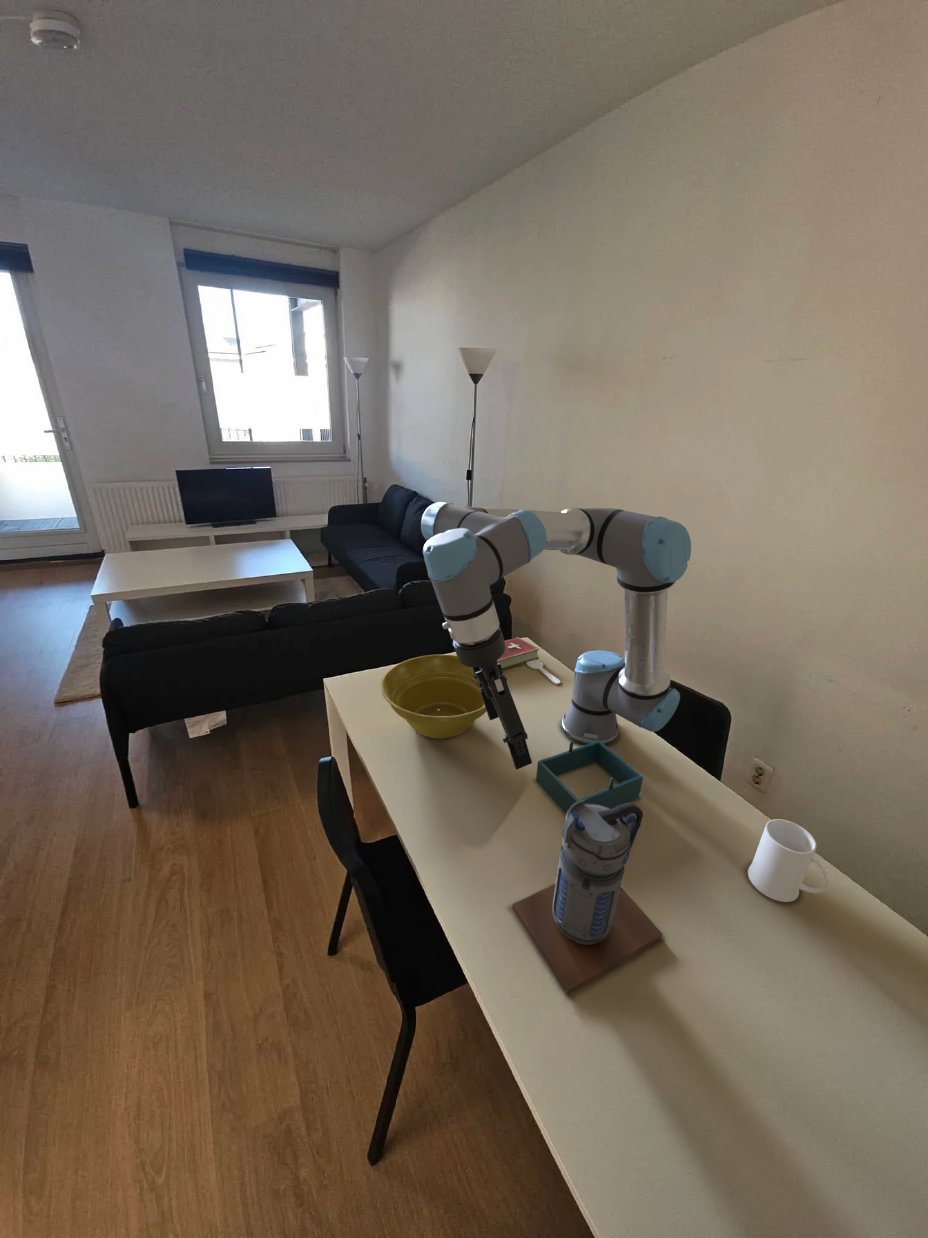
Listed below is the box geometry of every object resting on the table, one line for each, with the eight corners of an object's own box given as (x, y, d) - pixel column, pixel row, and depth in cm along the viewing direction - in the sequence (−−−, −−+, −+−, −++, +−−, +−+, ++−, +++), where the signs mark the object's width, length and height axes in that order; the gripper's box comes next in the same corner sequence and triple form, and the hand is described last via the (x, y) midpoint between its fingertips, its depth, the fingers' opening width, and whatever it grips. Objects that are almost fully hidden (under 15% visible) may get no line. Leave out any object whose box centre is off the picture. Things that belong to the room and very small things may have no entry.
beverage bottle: (635, 936, 85) (663, 824, 75) (564, 958, 81) (583, 842, 71) (603, 885, 94) (624, 778, 84) (538, 902, 90) (552, 793, 80)
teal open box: (596, 759, 128) (600, 730, 125) (639, 797, 116) (645, 767, 113) (535, 781, 120) (538, 751, 117) (575, 824, 108) (579, 792, 105)
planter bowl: (458, 779, 120) (459, 732, 115) (357, 733, 136) (354, 690, 130) (518, 715, 145) (521, 674, 140) (427, 682, 161) (427, 644, 155)
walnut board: (598, 867, 99) (599, 862, 98) (662, 939, 86) (663, 934, 85) (511, 908, 90) (512, 904, 90) (567, 995, 77) (568, 990, 77)
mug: (826, 904, 93) (848, 856, 88) (800, 925, 89) (821, 877, 84) (764, 857, 102) (781, 811, 97) (738, 874, 98) (754, 828, 93)
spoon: (551, 685, 161) (551, 684, 161) (522, 660, 176) (522, 659, 175) (565, 682, 163) (565, 680, 163) (535, 658, 178) (535, 656, 178)
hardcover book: (469, 659, 175) (469, 648, 174) (517, 646, 186) (517, 636, 185) (489, 673, 166) (490, 662, 165) (538, 658, 177) (539, 648, 175)
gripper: (435, 610, 86) (469, 707, 95) (475, 683, 64) (513, 800, 73) (476, 595, 87) (505, 692, 96) (529, 662, 64) (560, 780, 74)
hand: (509, 739), depth 85 cm, fingers open, 13 cm apart
